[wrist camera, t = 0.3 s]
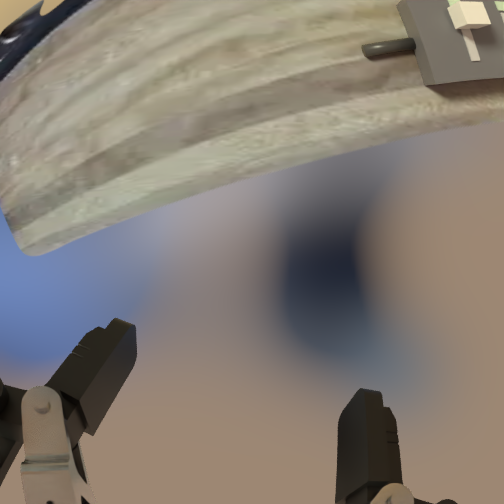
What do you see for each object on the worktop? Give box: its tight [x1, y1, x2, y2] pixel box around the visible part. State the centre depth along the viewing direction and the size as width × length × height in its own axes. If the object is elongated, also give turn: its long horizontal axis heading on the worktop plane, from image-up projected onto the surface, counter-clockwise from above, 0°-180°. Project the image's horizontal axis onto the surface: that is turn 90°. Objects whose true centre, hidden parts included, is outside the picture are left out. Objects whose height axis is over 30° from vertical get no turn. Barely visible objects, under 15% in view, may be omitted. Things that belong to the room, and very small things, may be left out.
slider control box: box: [362, 0, 504, 86], centre depth 22 cm, size 32×10×4 cm, turn 109°
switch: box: [447, 1, 491, 29], centre depth 19 cm, size 2×3×3 cm
